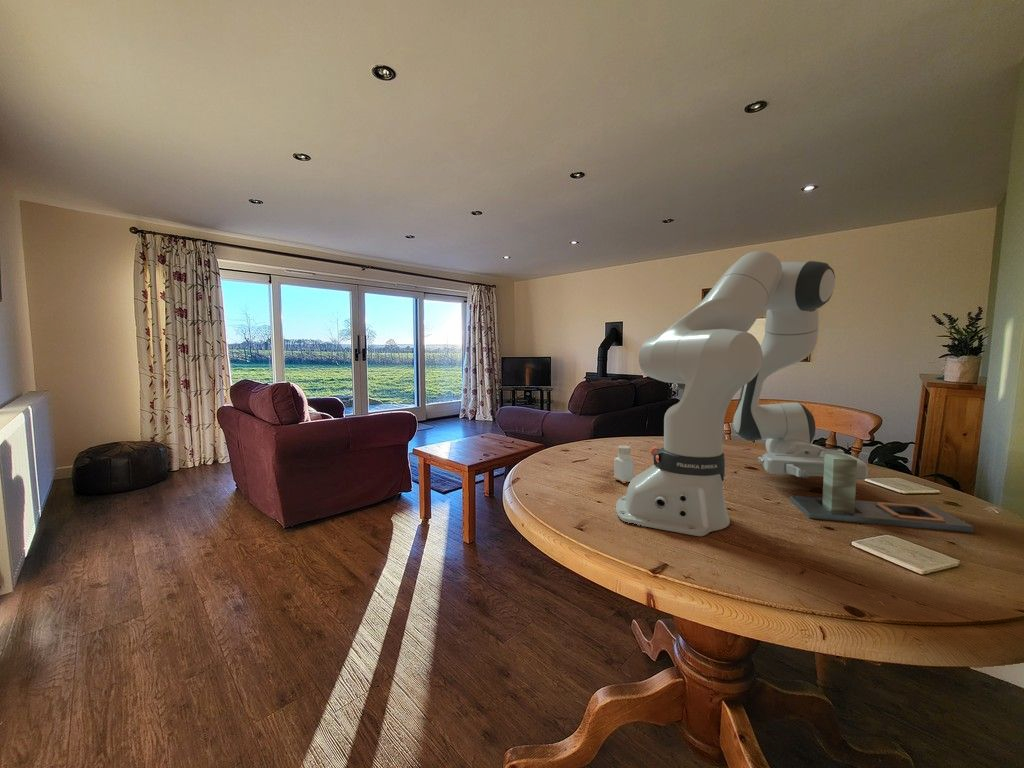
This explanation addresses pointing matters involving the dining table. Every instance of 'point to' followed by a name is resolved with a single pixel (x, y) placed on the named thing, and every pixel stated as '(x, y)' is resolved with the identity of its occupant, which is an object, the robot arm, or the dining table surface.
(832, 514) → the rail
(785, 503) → the dining table surface
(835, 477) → the peg
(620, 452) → the white pill bottle
